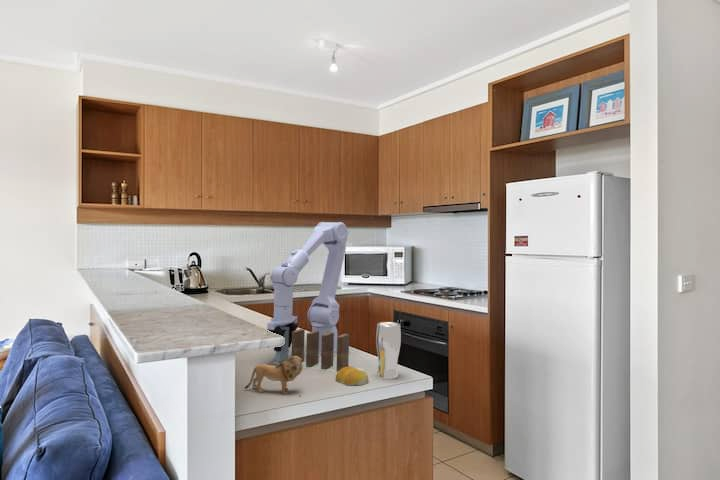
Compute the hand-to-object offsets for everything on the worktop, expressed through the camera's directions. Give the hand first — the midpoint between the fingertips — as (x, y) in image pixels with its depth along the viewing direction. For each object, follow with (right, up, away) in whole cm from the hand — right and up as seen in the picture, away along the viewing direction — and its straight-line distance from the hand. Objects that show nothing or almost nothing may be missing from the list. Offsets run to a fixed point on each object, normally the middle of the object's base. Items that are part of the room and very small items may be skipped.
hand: (282, 349), depth 153 cm
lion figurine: (+2, -5, -27) cm, 28 cm away
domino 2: (+5, -4, -2) cm, 7 cm away
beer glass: (+32, -5, -13) cm, 35 cm away
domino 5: (+19, -4, -8) cm, 21 cm away
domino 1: (0, -4, 0) cm, 4 cm away
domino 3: (+10, -4, -4) cm, 11 cm away
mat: (+11, -4, -5) cm, 13 cm away
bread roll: (+22, -5, -18) cm, 29 cm away
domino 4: (+14, -4, -6) cm, 16 cm away
